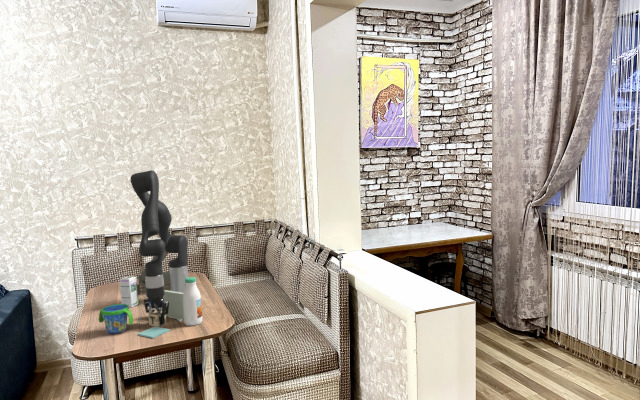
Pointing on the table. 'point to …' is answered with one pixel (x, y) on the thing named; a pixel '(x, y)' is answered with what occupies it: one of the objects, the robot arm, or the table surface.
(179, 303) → the screen
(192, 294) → the milk bottle
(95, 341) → the table surface
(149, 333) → the pad
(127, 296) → the syrup box
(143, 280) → the bible
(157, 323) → the letter cube
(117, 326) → the snack cup
